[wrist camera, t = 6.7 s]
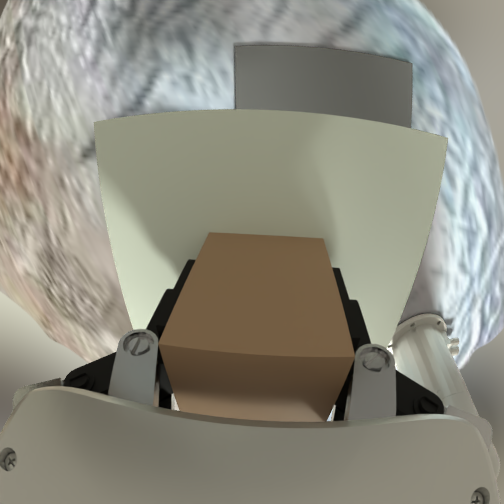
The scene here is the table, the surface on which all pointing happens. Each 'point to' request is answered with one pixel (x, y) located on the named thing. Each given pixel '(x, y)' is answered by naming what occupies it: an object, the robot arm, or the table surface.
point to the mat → (324, 82)
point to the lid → (265, 245)
